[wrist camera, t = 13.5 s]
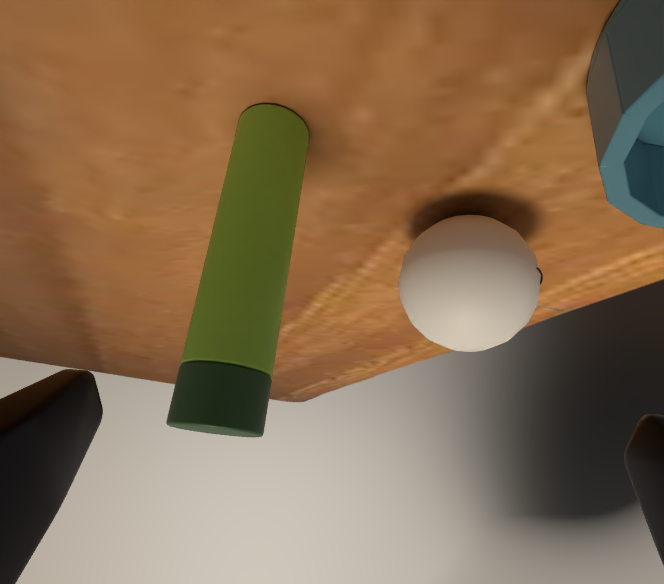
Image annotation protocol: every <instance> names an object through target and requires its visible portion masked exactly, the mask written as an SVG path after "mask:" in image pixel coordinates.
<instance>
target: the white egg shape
mask: <svg viewBox="0 0 664 584" xmlns="http://www.w3.org/2000/svg"><path fill="white" fill-rule="evenodd" d="M542 279H543V276H542V273H541V271H540V269H539V266H538V263H537V259H536V256H535V254H534V253H533V251H532V250H531V248H530V247H529V246H528V244H527V243H526V242H525V241H524V239H523V238H522V237H521V236H520V234H519V233H518V232H517V231H516V230H514V229H512V228H510V227H509V226H507V225H505V224H503V223H501V222H499V221H497V220H495V219H493V218H490V217H486V216H482V215H461V216H454V217H451V218H447V219H444V220H442V221H440V222H438V223H436V224H434V225H433V226H431V227H430V228H428V229H427V230H425V231H424V232H422V233H421V234H420V235H419V236H418V237H417V238H416V239H415V240H414V242H413V243H412V245H411V246H410V248H409V249H408V251H407V252H406V254H405V255H404V259H403V264H402V268H401V273H400V277H399V281H398V285H399V293H400V301H401V303H402V305H403V307H404V309H405V311H406V313H407V315H408V317H409V319H410V321H411V323H412V324H413V326H415V327H416V328H417V329H418V330H419V331H420V332H421V333H422V334H423V335H424V336H425V337H426V338H427V339H429V340H431V341H432V342H435V343H437V344H439V345H442V346H444V347H447V348H449V349H452V350H457V351H466V352H469V351H470V352H474V351H482V350H486V349H488V348H491V347H494V346H496V345H499V344H502V343H504V342H507V341H508V340H509V339H510V338H512V337H513V336H514V335H515V334H516V333H517V332H518V331H519V330H520V329H522V328H523V327H524V326H525V325H526V324H527V323H528V322H529V320H530V318H531V316H532V314H533V312H534V310H535V308H536V307H540V308H546V309H552V310H560V311H563V309H555V308H549V307H543V306H537V304H538V298H539V289H540V284H541V283H542Z"/></svg>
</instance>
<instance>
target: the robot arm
mask: <svg viewBox="0 0 664 584" xmlns="http://www.w3.org/2000/svg"><path fill="white" fill-rule="evenodd" d="M102 414H103V409H102V404H101V401H100V396H99V392H98V389H97V385H96V381H95V378H94V375H93V374H92V373H91V372H89V371H86V370H73V369H66V370H62V371H60V372H58V373H56V374H53V375H51V376H49V377H47V378H45V379H43V380H40V381H38V382H36V383H34V384H32V385H30V386H27V387H25V388H23V389H21V390H19V391H17V392H15V393H12V394H10V395H8V396H6V397H4V398H1V399H0V584H15V583H16V581H17V580H18V578H19V576H20V575H21V573H22V571H23V570H24V568H25V566H26V565H27V563H28V561H29V560H30V558H31V556H32V555H33V553H34V551H35V549H36V548H37V546H38V544H39V543H40V541H41V539H42V538H43V536H44V534H45V533H46V531H47V529H48V528H49V526H50V524H51V523H52V521H53V519H54V517H55V515H56V514H57V512H58V510H59V508H60V507H61V504H62V503H63V500H64V499H65V497H66V495H67V492H68V490H69V488H70V486H71V484H72V482H73V480H74V478H75V476H76V474H77V472H78V469H79V467H80V465H81V463H82V461H83V459H84V457H85V454H86V452H87V450H88V448H89V446H90V443H91V442H92V440H93V438H94V435H95V433H96V431H97V429H98V427H99V425H100V422H101V419H102ZM624 457H625V465H626V469H627V471H628V474H629V477H630V479H631V482H632V484H633V487H634V490H635V492H636V495H637V498H638V500H639V503H640V506H641V508H642V511H643V514H644V516H645V519H646V522H647V524H648V527H649V529H650V532H651V535H652V537H653V540H654V543H655V545H656V548H657V550H658V553H659V555H660V558H661V560H662V563H663V565H664V415H652V414H649V415H645V416H644V417H642V418H641V419H640V421H639V423H638V425H637V427H636V429H635V431H634V433H633V435H632V437H631V440H630V442H629V444H628V446H627V448H626V451H625V456H624Z"/></svg>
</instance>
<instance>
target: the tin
mask: <svg viewBox="0 0 664 584" xmlns="http://www.w3.org/2000/svg"><path fill="white" fill-rule="evenodd" d="M586 95H587V101H588V107H589V113H590V119H591V125H592V131H593V137H594V143H595V149H596V155H597V161H598V167H599V171H600V175H601V178H602V182H603V186H604V190H605V193H606V197H607V201H608V202H609V203H610V204H611V205H613V206H614V207H616V208H618V209H619V210H621V211H622V212H624V213H625V214H627V215H628V216H630V217H631V218H633V219H634V220H636V221H638V222H639V223H641V224H643V225H648V226H653V227H659V228H664V0H621V1H620V2H619V4H618V5H617V7H616V8H615V10H614V11H613V13H612V15H611V17H610V19H609V20H608V22H607V24H606V26H605V28H604V29H603V31H602V33H601V36H600V38H599V41H598V43H597V46H596V48H595V50H594V53H593V57H592V61H591V65H590V69H589V75H588V84H587V87H586Z"/></svg>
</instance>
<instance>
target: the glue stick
mask: <svg viewBox="0 0 664 584" xmlns="http://www.w3.org/2000/svg"><path fill="white" fill-rule="evenodd" d="M308 143H309V132H308V129H307V127H306V125H305V123H304V122H303V120H302V119H301V118H300V117H299V116H298V115H296V114H295V113H293V112H292V111H290V110H288V109H286V108H283V107H281V106H277V105H271V104H261V105H256V106H253V107H251V108H249V109H247V110H246V111H245V112H244V113H243V114H242V115H241V116H240V118H239V122H238V126H237V130H236V134H235V138H234V142H233V147H232V151H231V155H230V159H229V163H228V167H227V172H226V176H225V180H224V184H223V188H222V192H221V197H220V201H219V205H218V209H217V213H216V217H215V222H214V226H213V230H212V234H211V238H210V242H209V247H208V251H207V255H206V259H205V263H204V268H203V272H202V276H201V280H200V284H199V288H198V293H197V297H196V301H195V305H194V309H193V313H192V318H191V322H190V326H189V330H188V334H187V338H186V343H185V347H184V351H183V355H182V359H181V366H180V368H179V372H178V376H177V380H176V384H175V388H174V393H173V397H172V401H171V405H170V409H169V414H168V418H167V425H169V426H171V427H176V428H180V429H185V430H191V431H197V432H205V433H212V434H220V435H229V436H241V437H261V436H262V435H263V433H264V427H265V426H264V425H265V420H266V414H267V407H268V401H269V394H270V388H271V382H272V381H271V377H272V375H273V369H274V362H275V356H276V349H277V343H278V336H279V330H280V324H281V317H282V311H283V304H284V298H285V291H286V285H287V278H288V272H289V266H290V259H291V253H292V246H293V240H294V233H295V227H296V220H297V214H298V208H299V201H300V195H301V188H302V182H303V175H304V169H305V162H306V156H307V150H308Z"/></svg>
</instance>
